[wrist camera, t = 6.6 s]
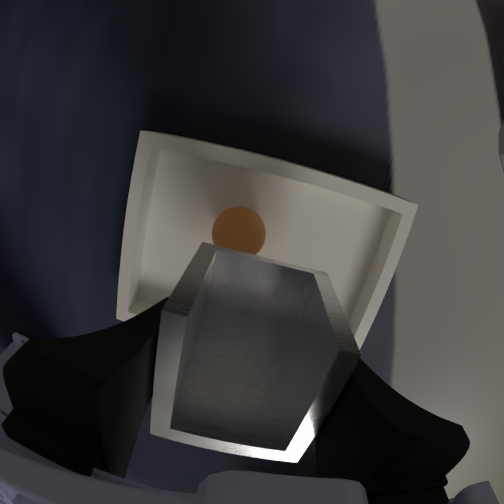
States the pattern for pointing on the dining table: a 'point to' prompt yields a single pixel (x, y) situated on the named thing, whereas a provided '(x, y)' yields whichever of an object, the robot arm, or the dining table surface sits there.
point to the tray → (271, 212)
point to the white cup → (501, 144)
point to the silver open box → (249, 355)
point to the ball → (239, 230)
